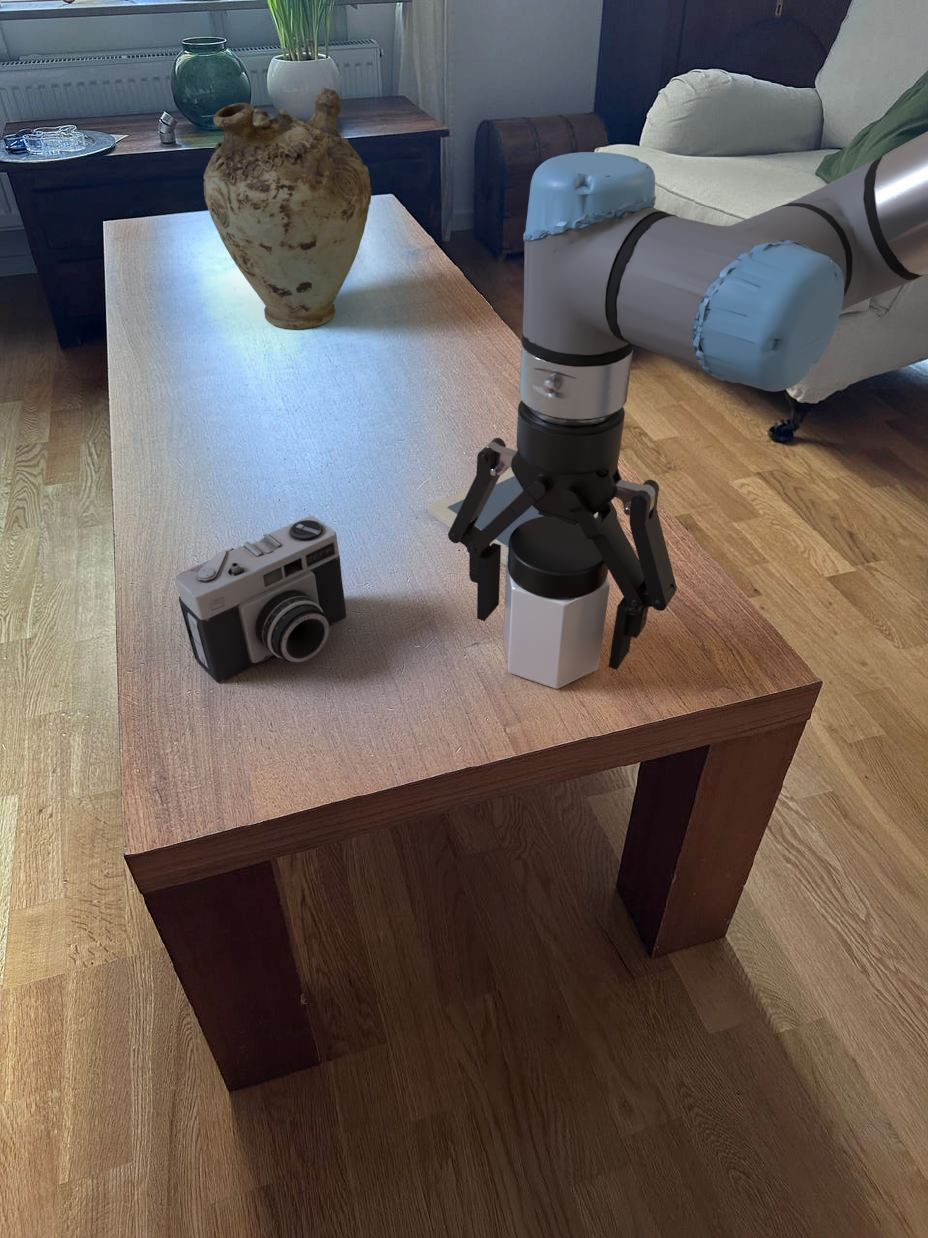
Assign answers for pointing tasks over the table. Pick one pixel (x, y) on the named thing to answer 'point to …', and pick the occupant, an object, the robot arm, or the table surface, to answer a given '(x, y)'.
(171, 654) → the table surface
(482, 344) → the table surface
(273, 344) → the table surface
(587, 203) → the robot arm
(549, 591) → the jar
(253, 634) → the camera
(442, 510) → the tile
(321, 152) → the vase
